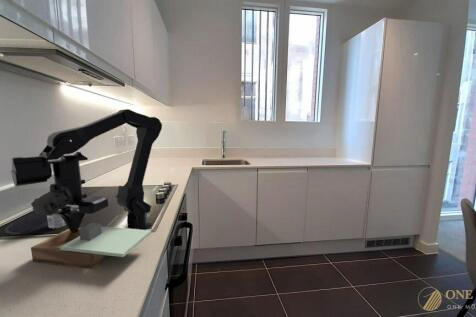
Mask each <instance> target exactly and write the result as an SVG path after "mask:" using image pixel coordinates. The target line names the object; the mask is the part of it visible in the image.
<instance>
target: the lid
mask: <svg viewBox="0 0 476 317" xmlns="http://www.w3.org/2000/svg"><path fill="white" fill-rule="evenodd" d="M80 228H81V229H79V231H80V236H79V237H77V238H75V239H74V240H72V241H70V242H68V243H66V244H65V245H63V246H61V247H60V249H61V250H66V251H74V252H83V253H92V254H101V255H109V256H112V257H121V258H124V257H125V256H126V255H127V254H129V253H130V252H131V251H133V250H134V248H136V247H137V246H138V245H139V244H140V243H142V242H143V241H144V240H146V239H147V238H148V237H149V236H150V235H151V234H152V230H150V229H149V230H148V229H146V230H139V229H128V227H115V226H114V227H113V226H103V225H102V224H101V222H98V223H97V222H90V223H88V224H87V225H84V226H83V227H80Z"/></svg>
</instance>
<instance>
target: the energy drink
mask: <svg viewBox="0 0 476 317" xmlns="http://www.w3.org/2000/svg"><path fill="white" fill-rule="evenodd" d="M46 217H47V218H46V219H47V226H48V228H49V229H51V228H52V230H53V229H54V230H55V228H56V229H60V228H63V227H65V226H67V225H66V223H65V221H64V220H63V219H62V217H61V216H59V215H56V214H52V215H46Z"/></svg>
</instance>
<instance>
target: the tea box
mask: <svg viewBox="0 0 476 317" xmlns="http://www.w3.org/2000/svg"><path fill="white" fill-rule="evenodd" d="M81 228H82V227H79V229H81ZM79 229H78V231H77V232H76V233H71V231H70V229H69V228H67V229H65V230H63V231H61V232H59V233H57V234H55V235H53V236H51V237H49V238H47V239H45V240H43V241H41V242H38V243H37V244H35V245H33V246H31V247H30V252H31V258H32V262H34V263H42V264H50V265H56V266H57V265H58V266H63V267H65V266H66V267H72V268H73V267H74V268H82V269H88V270H89V269H90V270H92V269H93V268H95V267H97V266H98V265H99V264H100V263H101V262H102V261H104V260H105V259H106V258H108V257H109V256H110V255H101V254H92V253H83V252H74V251H66V250H61V249H60V247H61V246H63V245H65V244H66V243H68V242H70V241H72V240H74V239H75V238H77V237H79V236H80V231H79Z"/></svg>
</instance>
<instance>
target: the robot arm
mask: <svg viewBox="0 0 476 317" xmlns="http://www.w3.org/2000/svg"><path fill="white" fill-rule="evenodd" d="M125 124H126V125H128V126H131V127H133V128H135V129H136V130H135V131H136V132H135V133H136V138H137V143H136V147H135V150H134V154H133V158H132V162H131V166H130V170H129V173H128V178H127V181H126V183H125V184H124V185H119V186H118V189H117V194H116V196H115V198H116V202H117V203H116V204H118V206H119V207H121V208H123V210H124V211H125V212H127V213H126V217H127V220H126V223H127V228H128V229H139V230H145V229H146V230H148V228H150V227H151V226H152V225H153V224H152V223H151V222H148V213H150V212H151V208H152V205H151V204H149V203H147V202H146V201H144V200H145V190H144V186H143V184H144V183H143V182H144V180H145V175H146V171H147V167H148V163H149V159H150V155H151V151H152V146H153V144H154V143H155V141H156V140H157V139H158V138H159V136H160V133H161V132H162V129H163V124H162V122H161V120H160V119H159V118H158V117H156V116H148V115H146V114H142V113H140V112H136V111H134V110H132V109H128V108H126V109H125V108H124V109H120V110H119V111H117V112H114V113H112V114H110V115H107V116H104V117H102V118H99V119H98V120H95V121H92V122H90V123H87V124H85V125H83V126H78V127H73V128H67V129H63V130H58V131H55V132H52V133H50V134H48V135H49V136H47V141H46V143H47V144H46V146H45V147H44V148H43V149H42V151H41V152H40V153H39V155H36V156H15V157H12V158H11V171H10V172H11V178H12V181H13V184H14V186H15V187H21V186H29V185H34V184H40V183H47V181H48V180H49V179H51V177H53V181H54V183H50V186H49V191H48V192H46V193H44V194H42V195H41V196H40V197H38V198H34V200H33V201H32V202H31V203H30V206H31V207H32V210H33V211H35V213H36V214H37V215H38V216H40V215H45V216H47V215H52V214H56V215H59V216H61V217H62V219H63V220H64V221H65V223H66V225H65V226H67V229H70V231H71V233H76V232H77V231H78V229H79V228H80V226H81V224H82V221H83V219H84V217H85V215H86V214H87V215H88V214H94V213H97V212H99V211H101V210H103V209H105V208H107V207H109V200H108V198H106V196H92V197H89V198H87V197H88V195H87V193H84V192H83V184H86V180H85V179H82V176H81V168H80V161H88V159H89V157H87V156H85V155H84V154H82V152H81V151H79V150H81V149H82V148H83V147H84V146H86V145H87V144H88V143H89V142H90V141H92V140H93V139H94V138H97V137H98V136H101V135H103V134H106V133H108V132H110V131H112V130H114V129H116V128H119V127H120V126H123V125H125ZM85 198H87V199H85Z"/></svg>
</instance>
